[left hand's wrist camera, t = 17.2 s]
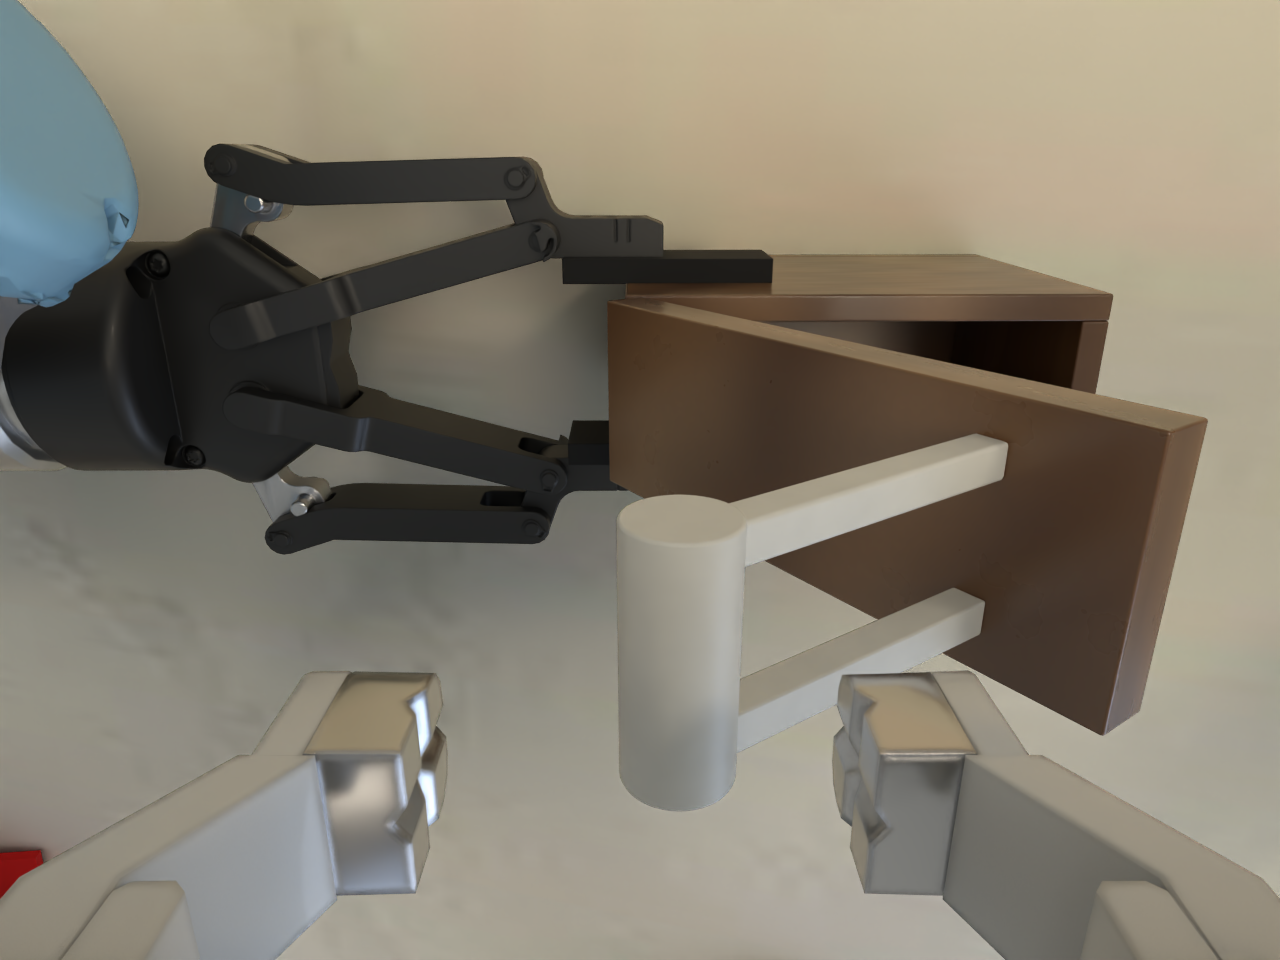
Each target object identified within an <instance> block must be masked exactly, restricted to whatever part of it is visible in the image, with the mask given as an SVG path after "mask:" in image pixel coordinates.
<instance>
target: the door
mask: <svg viewBox="0 0 1280 960" xmlns="http://www.w3.org/2000/svg"><path fill="white" fill-rule="evenodd" d="M607 321H608V391H609V461H610V481H612V482H614V483H616V484H618V485H620V486H622V487H623V488H625V489H627V490H629V491H631V492H633V493H635V494H637V495H639V496H641V497H643V498H645V499H642V500H639V501H636V502H633V503H631V504H629V505H627V506H626V507H624V508H623V509H622V510H621V511H620V513H619V514H618V517H617V519H616V540H617V624H618V709H619V774H620V778H621V780H622V783H623V784H624V786H625V788H626V789H627V790H628V791H629V793H630V794H631V795H633V796H634V797H635V798H636V799H638V800H639V801H641V802H643V803H645V804H647V805H649V806H652V807H655V808H658V809H663V810H669V811H690V810H696V809H701V808H704V807H707V806H709V805H712V804H714V803H715V802H717V801H719V800H720V799H721V798H723V797H724V796H725V795H726V794H727V793H728V792H729V790H730V789H731V787H732V785H733V783H734V781H735V776H736V758H737V753H738V752H741V751H743V750H745V749H747V748H749V747H751V746H753V745H755V744H757V743H759V742H761V741H763V740H765V739H767V738H769V737H771V736H773V735H775V734H777V733H779V732H781V731H783V730H785V729H787V728H790V727H792V726H794V725H796V724H798V723H800V722H802V721H804V720H806V719H808V718H810V717H812V716H814V715H816V714H818V713H820V712H822V711H824V710H826V709H828V708H830V707H832V706H834V705H836V704H837V698H838V688H839V683H840V680H841V676H842V675H846V674H886V673H902V672H904V671H906V670H908V669H910V668H912V667H914V666H916V665H918V664H920V663H922V662H924V661H926V660H928V659H930V658H932V657H935V656H937V655H939V654H941V653H943V654H945V655H947V656H949V657H951V658H953V659H955V660H957V661H959V662H961V663H963V664H964V665H966V666H968V667H970V668H972V669H974V670H976V671H978V672H980V673H982V674H984V675H986V676H988V677H989V678H991V679H993V680H995V681H997V682H999V683H1001V684H1003V685H1005V686H1007V687H1009V688H1011V689H1013V690H1015V691H1016V692H1018V693H1020V694H1022V695H1024V696H1026V697H1028V698H1030V699H1032V700H1034V701H1036V702H1038V703H1040V704H1041V705H1043V706H1045V707H1047V708H1049V709H1051V710H1053V711H1055V712H1057V713H1059V714H1061V715H1063V716H1065V717H1067V718H1068V719H1070V720H1072V721H1074V722H1076V723H1078V724H1080V725H1082V726H1084V727H1086V728H1088V729H1090V730H1092V731H1094V732H1095V733H1097V734H1099V735H1102V736H1103V735H1105V734H1107V733H1108V732H1110V731H1111V730H1113V729H1114V728H1116V727H1117V726H1119V725H1120V724H1121V723H1123V722H1124V721H1126V720H1127V719H1129V718H1130V717H1132V716H1133V715H1135V714H1136V713H1138V712H1139V711H1140V707H1141V703H1142V699H1143V694H1144V690H1145V686H1146V682H1147V677H1148V673H1149V669H1150V665H1151V660H1152V656H1153V652H1154V648H1155V643H1156V639H1157V635H1158V631H1159V626H1160V622H1161V618H1162V614H1163V609H1164V605H1165V601H1166V597H1167V592H1168V588H1169V584H1170V580H1171V575H1172V571H1173V567H1174V563H1175V558H1176V554H1177V550H1178V546H1179V541H1180V537H1181V533H1182V529H1183V524H1184V520H1185V516H1186V512H1187V507H1188V503H1189V499H1190V495H1191V490H1192V486H1193V482H1194V478H1195V473H1196V469H1197V465H1198V461H1199V456H1200V452H1201V448H1202V444H1203V439H1204V435H1205V431H1206V427H1207V422H1208V420H1207V419H1206V418H1204V417H1199V416H1194V415H1190V414H1185V413H1180V412H1176V411H1171V410H1166V409H1162V408H1157V407H1152V406H1148V405H1143V404H1138V403H1134V402H1129V401H1125V400H1120V399H1115V398H1111V397H1106V396H1101V395H1097V394H1092V393H1087V392H1083V391H1078V390H1073V389H1069V388H1064V387H1059V386H1055V385H1050V384H1045V383H1041V382H1036V381H1031V380H1027V379H1022V378H1017V377H1013V376H1008V375H1003V374H999V373H994V372H989V371H985V370H980V369H975V368H971V367H966V366H961V365H957V364H952V363H947V362H943V361H938V360H933V359H929V358H924V357H919V356H915V355H910V354H905V353H901V352H896V351H891V350H887V349H882V348H877V347H873V346H868V345H863V344H859V343H854V342H849V341H845V340H840V339H835V338H831V337H826V336H821V335H817V334H812V333H807V332H803V331H798V330H793V329H789V328H784V327H779V326H775V325H770V324H765V323H761V322H756V321H751V320H747V319H742V318H737V317H733V316H728V315H723V314H719V313H714V312H709V311H705V310H700V309H695V308H691V307H686V306H681V305H677V304H672V303H667V302H663V301H658V300H653V299H649V298H644V297H639V298H630V299H620V300H611V301H608V302H607ZM761 561H766V562H768V563H770V564H772V565H774V566H776V567H778V568H780V569H781V570H783V571H785V572H787V573H789V574H791V575H793V576H795V577H797V578H799V579H801V580H803V581H805V582H806V583H808V584H810V585H812V586H814V587H816V588H818V589H820V590H822V591H824V592H826V593H828V594H830V595H832V596H833V597H835V598H837V599H839V600H841V601H843V602H845V603H847V604H849V605H851V606H853V607H855V608H857V609H858V610H860V611H862V612H864V613H866V614H868V615H870V616H872V617H874V618H876V619H878V620H876V621H874V622H872V623H870V624H867V625H865V626H863V627H860V628H858V629H856V630H853V631H851V632H849V633H846V634H844V635H842V636H839V637H837V638H835V639H832V640H830V641H828V642H825V643H823V644H821V645H818V646H816V647H814V648H811V649H809V650H807V651H804V652H802V653H800V654H797V655H795V656H793V657H791V658H788V659H786V660H784V661H781V662H779V663H777V664H774V665H772V666H770V667H767V668H765V669H763V670H760V671H758V672H756V673H753V674H751V675H749V676H746V677H744V678H742V679H740V669H741V647H742V625H743V603H744V581H745V567H747V566H750V565H753V564H756V563H759V562H761Z"/></svg>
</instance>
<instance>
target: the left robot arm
mask: <svg viewBox="0 0 1280 960" xmlns="http://www.w3.org/2000/svg"><path fill="white" fill-rule="evenodd" d="M442 707H443V699H442V691H441V682H440V679H439V678H438V676H437V674H436V673H404V672H353V673H352V672H350V671H313V672H310V673H307V674H305V675H304V676H303V677H302V678H301V680H300V681H299V683H298V684H297V686H296V687H295V689H294V691H293V692H292V694H291V695H290V697H289V698H288V700H287V701H286V703H285V704H284V706H283V707H282V709H281V710H280V712H279V713H278V715H277V716H276V718H275V719H274V721H273V722H272V724H271V726H270V727H269V729H268V730H267V732H266V733H265V735H264V736H263V738H262V739H261V741H260V742H259V744H258V745H257V747H256V748H255V750H254V751H253V753H252V754H251V755H238V756H236V757H234V758H232V759H230V760H229V761H227V762H225V763H223V764H221V765H220V766H218V767H216V768H214V769H212V770H211V771H209V772H207V773H205V774H203V775H202V776H200V777H198V778H196V779H194V780H193V781H191V782H189V783H187V784H185V785H184V786H182V787H180V788H178V789H176V790H175V791H173V792H171V793H169V794H168V795H166V796H164V797H162V798H160V799H159V800H157V801H155V802H153V803H151V804H150V805H148V806H146V807H144V808H142V809H141V810H139V811H137V812H135V813H133V814H132V815H130V816H128V817H126V818H124V819H123V820H121V821H119V822H117V823H115V824H114V825H112V826H110V827H108V828H106V829H105V830H103V831H101V832H99V833H98V834H96V835H94V836H92V837H90V838H89V839H87V840H85V841H83V842H81V843H80V844H78V845H76V846H74V847H72V848H71V849H69V850H67V851H65V852H63V853H62V854H60V855H58V856H56V857H54V858H53V859H51V860H49V861H47V862H45V863H44V864H42V865H40V866H38V867H37V868H35V869H33V870H31V871H29V872H28V873H26V874H24V875H22V876H20V877H19V878H18V879H17V880H16V881H15V883H14V884H13V885H12V886H11V887H10V888H9V890H8V891H7V892H6V893H5V894H4V895H3V896H2V898H1V899H0V960H275V959H276V958H277V957H278V956H279V955H280V954H281V953H282V952H283V951H284V950H285V949H287V948H288V947H289V946H290V945H291V944H292V943H293V942H294V941H295V940H296V939H297V938H298V937H299V936H300V935H301V934H302V933H303V932H304V931H305V930H306V929H307V928H308V927H309V926H310V925H311V924H313V923H314V922H315V921H316V920H317V919H318V918H319V917H320V916H321V915H322V914H323V913H324V912H325V911H326V910H327V909H328V908H329V907H330V906H331V905H332V904H333V903H334V902H335V901H336V900H337V895H371V894H406V893H416V890H417V887H418V884H419V881H420V878H421V874H422V871H423V868H424V865H425V862H426V858H427V855H428V852H429V849H430V842H429V831H428V826H430V825H431V824H432V823H433V822H435V821H436V820H437V819H438V818H439V816H440V812H441V809H442V805H443V802H444V797H445V789H446V782H447V769H448V753H447V740H446V736H445V735H444V734H443V733H442V732H441V730H440V729H439V728H438V727H437V726H436V724H437V721H438V719H439V716H440V713H441V710H442ZM837 707H838V710H839V713H840V716H841V719H842V721H843V724H844V726H843V727H842V728H841V729H840V730H839V732H838V733H837V734H836V735H835V736H834V741H833V757H832V766H833V785H834V791H835V796H836V802H837V805H838V809H839V812H840V816H841V818H842V819H843V820H844V821H845V822H847V823H848V824H849V825H850V826H852V831H851V842H850V849H851V852H852V855H853V858H854V862H855V865H856V868H857V871H858V874H859V877H860V881H861V884H862V887H863V890H864V893H872V894H907V895H943V900H944V901H945V902H946V903H947V904H948V905H949V906H950V907H951V908H952V909H953V910H954V911H956V912H957V913H958V914H959V915H960V916H961V917H962V918H963V919H964V920H965V921H966V922H967V923H968V924H969V925H970V926H971V927H972V928H973V929H974V930H975V931H976V932H977V933H978V934H979V935H980V936H981V937H982V938H983V939H985V940H986V941H987V942H988V943H989V944H990V945H991V946H992V947H993V948H994V949H995V950H996V951H997V952H998V953H999V954H1000V955H1001V956H1002V957H1003V958H1004V959H1005V960H1280V898H1279V897H1278V896H1277V895H1276V894H1275V892H1274V891H1273V890H1272V889H1271V888H1270V887H1269V885H1268V884H1267V883H1266V882H1265V881H1264V880H1263V879H1262V878H1261V877H1259V876H1257V875H1255V874H1254V873H1252V872H1250V871H1248V870H1246V869H1245V868H1243V867H1241V866H1239V865H1237V864H1236V863H1234V862H1232V861H1230V860H1229V859H1227V858H1225V857H1223V856H1221V855H1220V854H1218V853H1216V852H1214V851H1212V850H1211V849H1209V848H1207V847H1205V846H1203V845H1202V844H1200V843H1198V842H1196V841H1195V840H1193V839H1191V838H1189V837H1187V836H1186V835H1184V834H1182V833H1180V832H1178V831H1177V830H1175V829H1173V828H1171V827H1170V826H1168V825H1166V824H1164V823H1162V822H1161V821H1159V820H1157V819H1155V818H1153V817H1152V816H1150V815H1148V814H1146V813H1144V812H1143V811H1141V810H1139V809H1137V808H1136V807H1134V806H1132V805H1130V804H1128V803H1127V802H1125V801H1123V800H1121V799H1119V798H1118V797H1116V796H1114V795H1112V794H1110V793H1109V792H1107V791H1105V790H1103V789H1102V788H1100V787H1098V786H1096V785H1094V784H1093V783H1091V782H1089V781H1087V780H1085V779H1084V778H1082V777H1080V776H1078V775H1076V774H1075V773H1073V772H1071V771H1069V770H1068V769H1066V768H1064V767H1062V766H1060V765H1059V764H1057V763H1055V762H1053V761H1051V760H1050V759H1048V758H1046V757H1044V756H1043V755H1029V754H1028V753H1027V751H1026V750H1025V748H1024V747H1023V745H1022V744H1021V742H1020V741H1019V739H1018V738H1017V736H1016V735H1015V733H1014V732H1013V730H1012V729H1011V727H1010V726H1009V724H1008V723H1007V721H1006V720H1005V718H1004V717H1003V715H1002V714H1001V712H1000V711H999V709H998V708H997V706H996V705H995V703H994V702H993V700H992V699H991V697H990V696H989V694H988V693H987V691H986V690H985V688H984V687H983V685H982V684H981V682H980V681H979V679H978V678H977V676H976V675H975V674H973V673H972V672H970V671H944V672H926V673H886V674H846V675H842V676H841V680H840V683H839V688H838V698H837Z"/></svg>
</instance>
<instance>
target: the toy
mask: <svg viewBox="0 0 1280 960" xmlns="http://www.w3.org/2000/svg"><path fill="white" fill-rule="evenodd" d="M42 864H43V859H42V855H41V850H37V851H23V852H9V853H0V899H1V898H2V896H3V895H4V894H5V893H6V892H7V891H8V890H9V888H10V887H11V886H12V885H13V884H14V883H15V881H16V880H17V879H18V878H19V877H20V876H22V875H24V874H26V873H28V872H29V871H31V870H33V869H35V868H37V867H38V866H40V865H42Z"/></svg>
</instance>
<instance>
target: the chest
mask: <svg viewBox="0 0 1280 960" xmlns="http://www.w3.org/2000/svg"><path fill="white" fill-rule="evenodd" d="M769 256H770V257H772V258H773V275H772V283H628V284H626V292H625V299H630V298H639V297H644V298H649V299H653V300H658V301H663V302H667V303H672V304H677V305H681V306H686V307H691V308H695V309H700V310H705V311H709V312H714V313H719V314H723V315H728V316H733V317H737V318H742V319H747V320H751V321H756V322H761V323H765V324H770V325H775V326H779V327H784V328H789V329H793V330H798V331H803V332H807V333H812V334H817V335H821V336H826V337H831V338H835V339H840V340H845V341H849V342H854V343H859V344H863V345H868V346H873V347H877V348H882V349H887V350H891V351H896V352H901V353H905V354H910V355H915V356H919V357H924V358H929V359H933V360H938V361H943V362H947V363H952V364H957V365H961V366H966V367H971V368H975V369H980V370H985V371H989V372H994V373H999V374H1003V375H1008V376H1013V377H1017V378H1022V379H1027V380H1031V381H1036V382H1041V383H1045V384H1050V385H1055V386H1059V387H1064V388H1069V389H1073V390H1078V391H1083V392H1087V393H1092V394H1095V392H1096V387H1097V382H1098V376H1099V371H1100V366H1101V360H1102V355H1103V349H1104V344H1105V339H1106V333H1107V328H1108V321H1107V320H1109V316H1110V311H1111V305H1112V300H1113V294H1110V293H1107V292H1104V291H1100V290H1097V289H1093V288H1090V287H1086V286H1083V285H1079V284H1076V283H1073V282H1069V281H1066V280H1062V279H1059V278H1055V277H1052V276H1049V275H1045V274H1042V273H1038V272H1035V271H1031V270H1028V269H1024V268H1021V267H1018V266H1014V265H1011V264H1007V263H1004V262H1000V261H997V260H993V259H990V258H987V257H982V256H979V255H976V254H943V255H769Z"/></svg>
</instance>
